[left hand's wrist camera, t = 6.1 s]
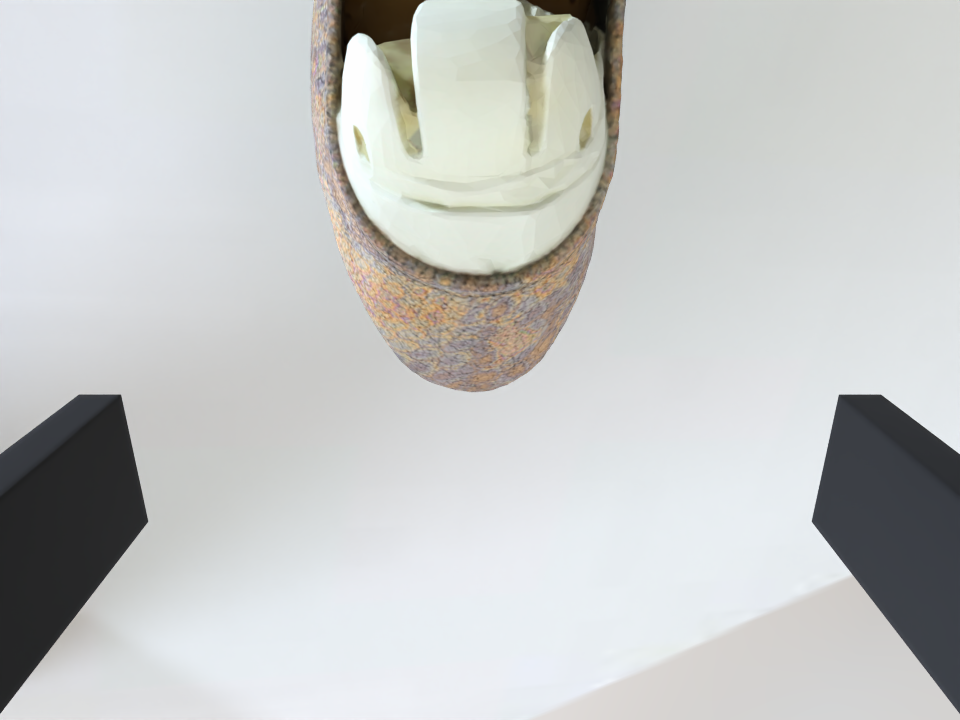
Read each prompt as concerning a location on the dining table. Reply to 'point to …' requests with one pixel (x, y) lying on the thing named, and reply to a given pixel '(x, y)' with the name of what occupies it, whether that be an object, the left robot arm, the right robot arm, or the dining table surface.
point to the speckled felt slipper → (466, 169)
